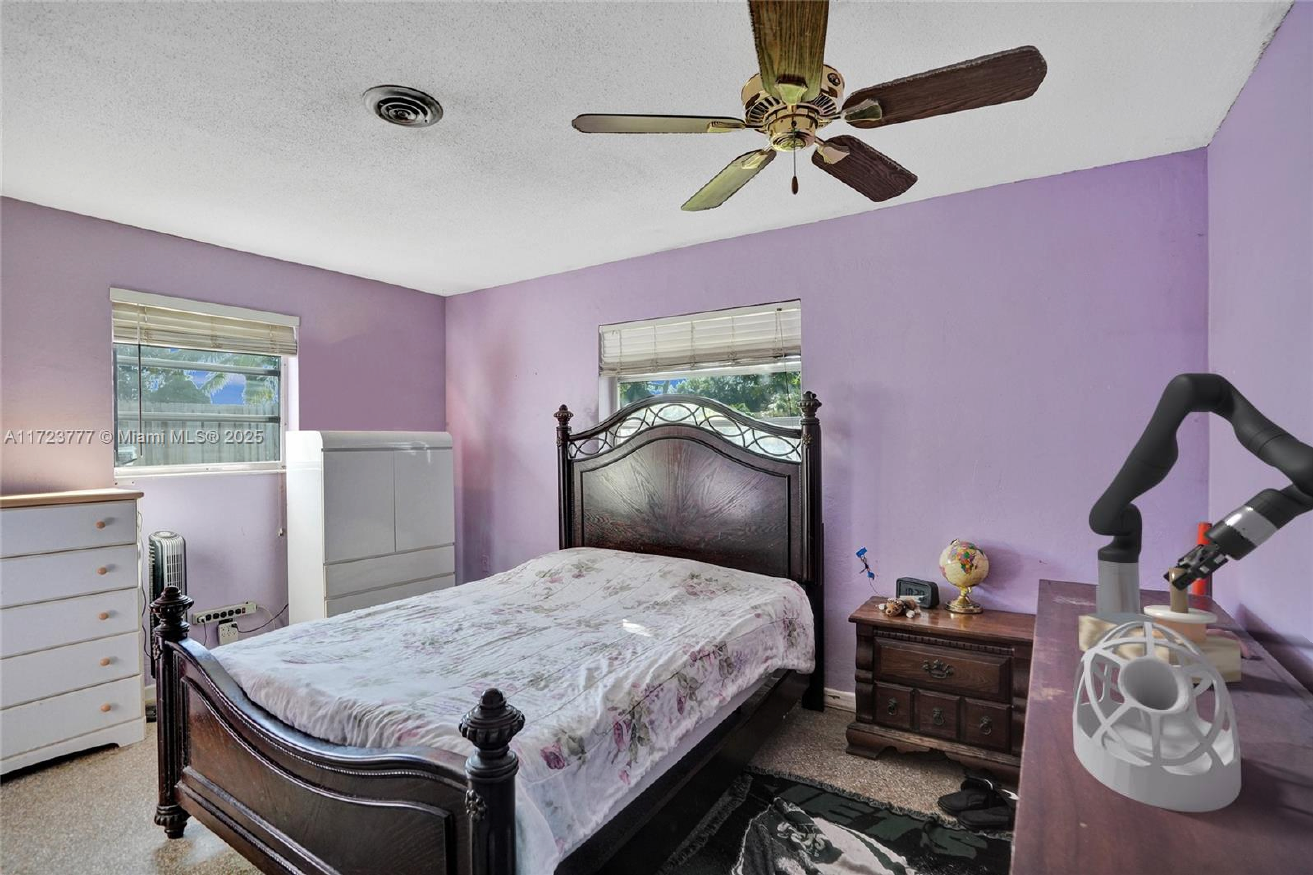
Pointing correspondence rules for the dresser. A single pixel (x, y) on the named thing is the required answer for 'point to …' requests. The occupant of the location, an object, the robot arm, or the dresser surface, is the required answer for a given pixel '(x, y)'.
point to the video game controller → (1229, 634)
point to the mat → (1121, 617)
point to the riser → (1215, 648)
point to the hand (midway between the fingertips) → (1171, 583)
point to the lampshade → (1156, 724)
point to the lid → (1179, 605)
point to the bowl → (1183, 629)
